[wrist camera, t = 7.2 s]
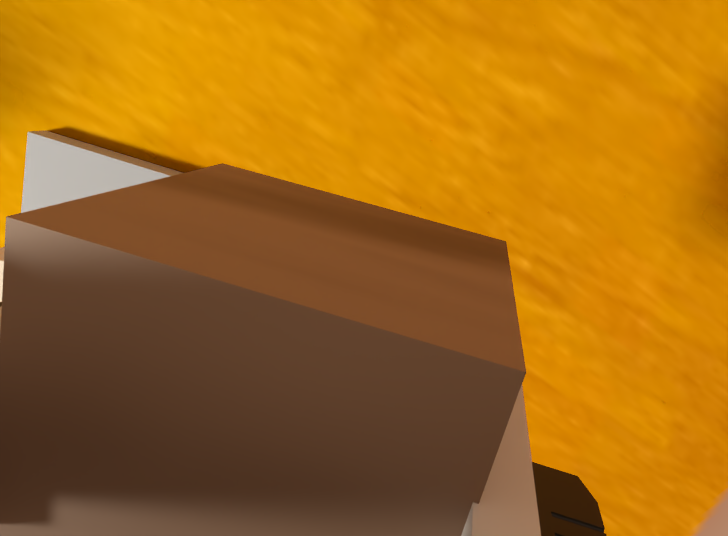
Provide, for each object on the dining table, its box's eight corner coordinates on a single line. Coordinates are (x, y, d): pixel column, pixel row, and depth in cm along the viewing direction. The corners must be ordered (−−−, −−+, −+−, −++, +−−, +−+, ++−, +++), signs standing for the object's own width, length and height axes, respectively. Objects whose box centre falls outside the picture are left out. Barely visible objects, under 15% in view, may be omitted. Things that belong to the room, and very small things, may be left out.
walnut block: (222, 163, 13) (6, 216, 7) (505, 241, 12) (526, 371, 6) (182, 409, 14) (-15, 612, 9) (426, 489, 14) (385, 765, 8)
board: (46, 130, 29) (-46, 136, 24) (323, 215, 27) (286, 241, 22) (14, 472, 35) (-64, 533, 30) (238, 558, 33) (195, 637, 28)
